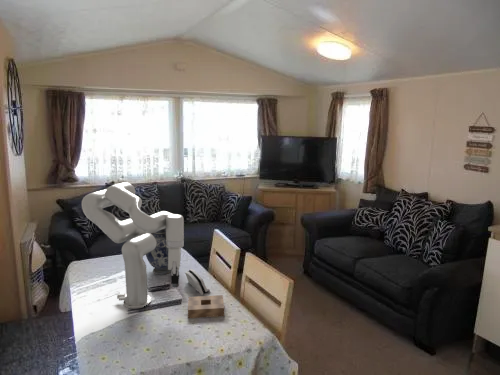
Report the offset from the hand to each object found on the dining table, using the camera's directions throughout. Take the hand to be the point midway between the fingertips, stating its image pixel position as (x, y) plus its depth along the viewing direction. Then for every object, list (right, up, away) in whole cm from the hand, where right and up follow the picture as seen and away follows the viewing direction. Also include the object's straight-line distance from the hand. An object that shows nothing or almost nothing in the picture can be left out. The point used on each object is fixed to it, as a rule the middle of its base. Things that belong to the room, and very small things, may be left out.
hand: (175, 281), depth 171 cm
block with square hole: (+13, -14, +5) cm, 20 cm away
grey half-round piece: (+6, -10, +27) cm, 29 cm away
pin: (0, -2, +1) cm, 2 cm away
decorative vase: (-16, -6, +47) cm, 50 cm away
